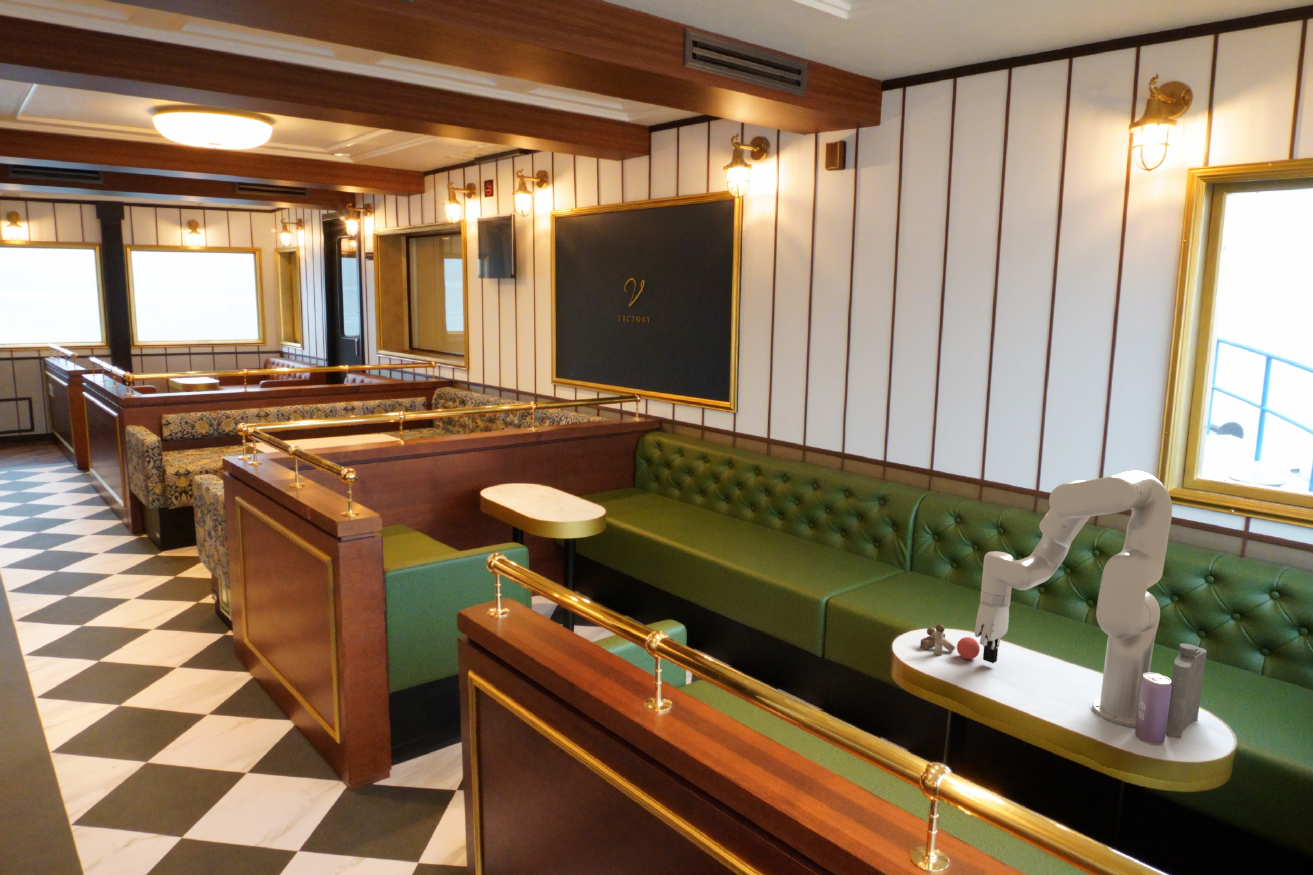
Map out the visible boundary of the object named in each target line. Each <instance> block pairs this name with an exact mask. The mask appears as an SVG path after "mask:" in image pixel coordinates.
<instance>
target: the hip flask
mask: <svg viewBox="0 0 1313 875" xmlns="http://www.w3.org/2000/svg"><path fill="white" fill-rule="evenodd" d="M1206 659H1207V649H1205V648H1203V647H1199V646H1196V645H1194V644H1190V643H1184V642H1183V643H1180V644H1179V653H1178V655H1177V656H1176V657H1175V659H1174V662H1173V670H1172V678H1171V685H1172V689H1171V697H1170V704H1169V712H1168V720H1167V727H1166V735H1165V736H1168V737H1169V738H1172V739H1181V738H1182V735H1183V732H1184V731H1185V729H1187V727H1188V726H1189V725H1191V724H1192V723H1194V722H1196V721H1198V720H1199V718H1198V717H1199V711H1200V705H1201V704H1200V703H1201V697H1202V696H1201V695H1202V691H1203V690H1202V689H1203V684H1204V683H1203V681H1204V675H1205V674H1204V673H1205V669H1206V668H1205V667H1206Z"/></svg>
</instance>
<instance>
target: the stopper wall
mask: <svg viewBox="0 0 1313 875" xmlns="http://www.w3.org/2000/svg"><path fill="white" fill-rule="evenodd" d="M943 637H944V638H945V639H946V633H944V632H943ZM919 647H920V649H922V650H925V651H928V650H930V649H933V648H935V639H934V638H933V637H932V636H930V635H928V636H927V637H923V638H922V639H920V646H919Z"/></svg>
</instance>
